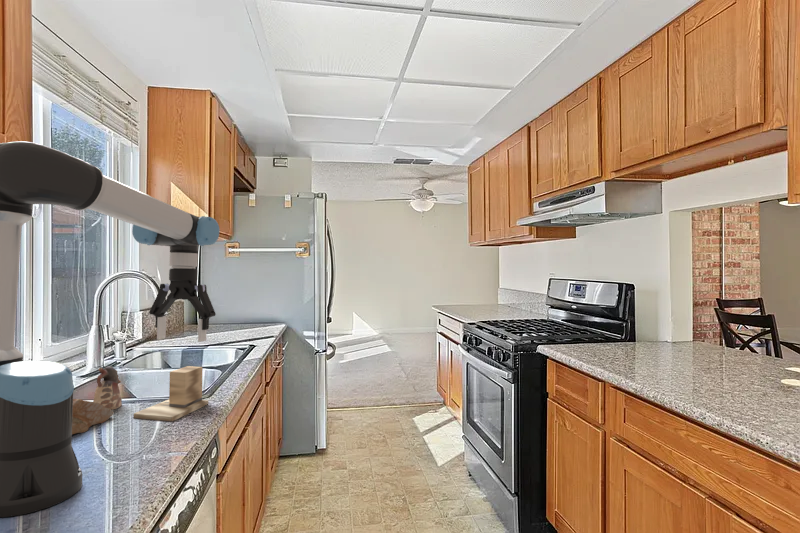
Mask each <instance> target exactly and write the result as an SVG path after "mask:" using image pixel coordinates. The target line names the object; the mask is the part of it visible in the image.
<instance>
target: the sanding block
mask: <svg viewBox="0 0 800 533" xmlns="http://www.w3.org/2000/svg"><path fill="white" fill-rule="evenodd" d="M168 392H169V397H168V399H169V407H181V408H185V407H187V406H190V405H192V404H194V403H196V402H199V401H201V400H203V366H192V365H191V366H190V365H187V366H183V367H181V368H178V369H174V370H171V371H169V388H168Z"/></svg>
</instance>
